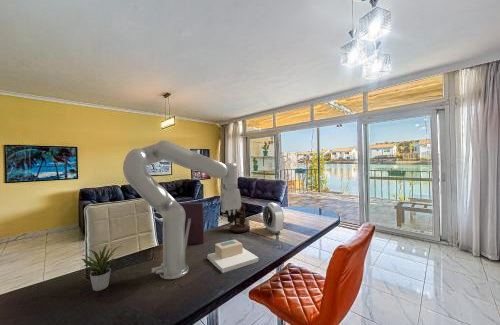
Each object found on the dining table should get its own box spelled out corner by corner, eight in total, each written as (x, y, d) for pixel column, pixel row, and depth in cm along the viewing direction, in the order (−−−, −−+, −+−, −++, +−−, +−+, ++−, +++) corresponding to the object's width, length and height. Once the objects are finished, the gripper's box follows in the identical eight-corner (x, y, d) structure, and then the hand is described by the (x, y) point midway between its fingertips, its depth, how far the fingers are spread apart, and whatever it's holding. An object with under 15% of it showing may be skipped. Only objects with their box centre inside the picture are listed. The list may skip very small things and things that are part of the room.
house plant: (116, 272, 100) (115, 237, 100) (129, 283, 91) (128, 244, 91) (77, 287, 89) (77, 247, 89) (87, 300, 80) (87, 256, 80)
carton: (221, 259, 108) (221, 248, 108) (215, 253, 115) (215, 243, 115) (242, 253, 115) (242, 243, 115) (235, 248, 122) (235, 239, 122)
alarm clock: (262, 228, 163) (261, 201, 163) (271, 227, 167) (271, 200, 167) (274, 235, 147) (274, 205, 147) (285, 233, 151) (284, 204, 150)
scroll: (254, 230, 159) (253, 203, 159) (238, 235, 149) (238, 206, 149) (240, 226, 170) (240, 200, 170) (225, 230, 160) (225, 203, 159)
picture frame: (204, 243, 136) (203, 202, 135) (198, 249, 126) (198, 206, 126) (178, 242, 137) (177, 202, 137) (171, 248, 127) (170, 205, 127)
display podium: (222, 273, 99) (222, 268, 99) (207, 258, 114) (207, 254, 114) (258, 261, 110) (258, 257, 110) (240, 249, 125) (240, 246, 125)
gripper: (220, 188, 106) (220, 226, 106) (246, 186, 114) (246, 221, 114) (213, 187, 112) (214, 223, 112) (239, 185, 120) (239, 218, 120)
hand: (230, 222), depth 113 cm, fingers closed
